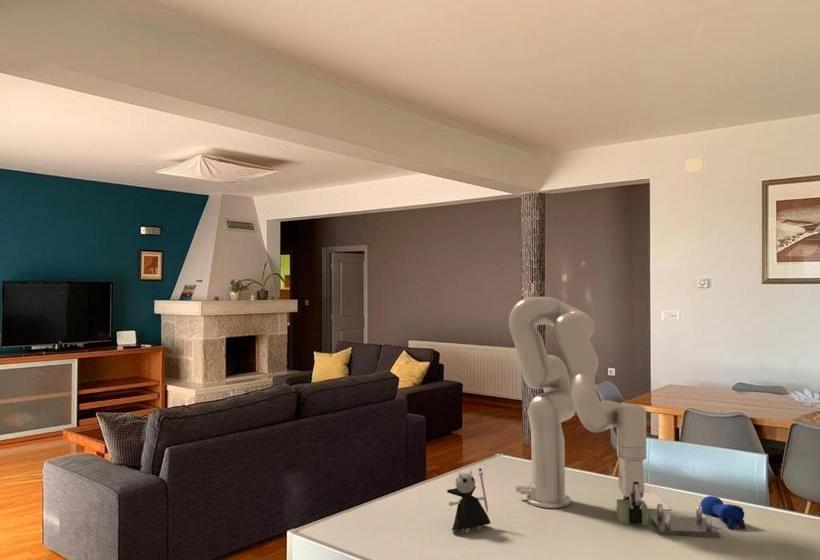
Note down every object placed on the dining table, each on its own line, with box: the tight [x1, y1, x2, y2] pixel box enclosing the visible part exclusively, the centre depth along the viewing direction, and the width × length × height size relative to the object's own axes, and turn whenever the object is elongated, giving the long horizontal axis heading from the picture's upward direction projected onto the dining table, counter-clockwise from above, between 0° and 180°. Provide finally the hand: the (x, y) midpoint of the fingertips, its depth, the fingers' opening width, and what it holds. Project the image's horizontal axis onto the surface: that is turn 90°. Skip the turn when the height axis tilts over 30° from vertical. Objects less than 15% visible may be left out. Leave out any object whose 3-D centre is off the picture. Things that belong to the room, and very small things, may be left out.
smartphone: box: [641, 492, 672, 512], centre depth 184 cm, size 7×1×15 cm
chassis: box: [650, 504, 720, 538], centre depth 163 cm, size 14×10×5 cm
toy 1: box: [446, 467, 492, 533], centre depth 164 cm, size 12×7×15 cm, turn 117°
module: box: [616, 498, 648, 525], centre depth 169 cm, size 7×4×5 cm, turn 82°
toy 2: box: [699, 495, 747, 531], centre depth 170 cm, size 7×6×15 cm
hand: (632, 517), depth 169 cm, fingers open, 6 cm apart
